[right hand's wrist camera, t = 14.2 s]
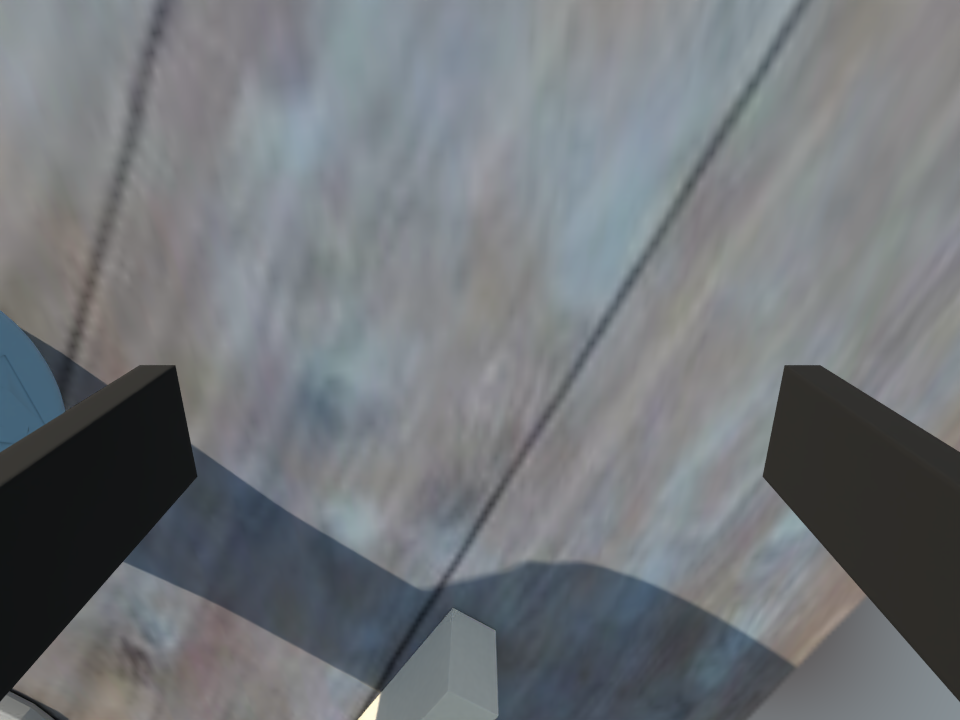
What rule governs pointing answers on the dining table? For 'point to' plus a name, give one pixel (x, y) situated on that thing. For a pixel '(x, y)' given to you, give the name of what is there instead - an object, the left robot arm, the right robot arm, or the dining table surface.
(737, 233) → the dining table surface
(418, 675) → the bar
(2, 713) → the wall clock
